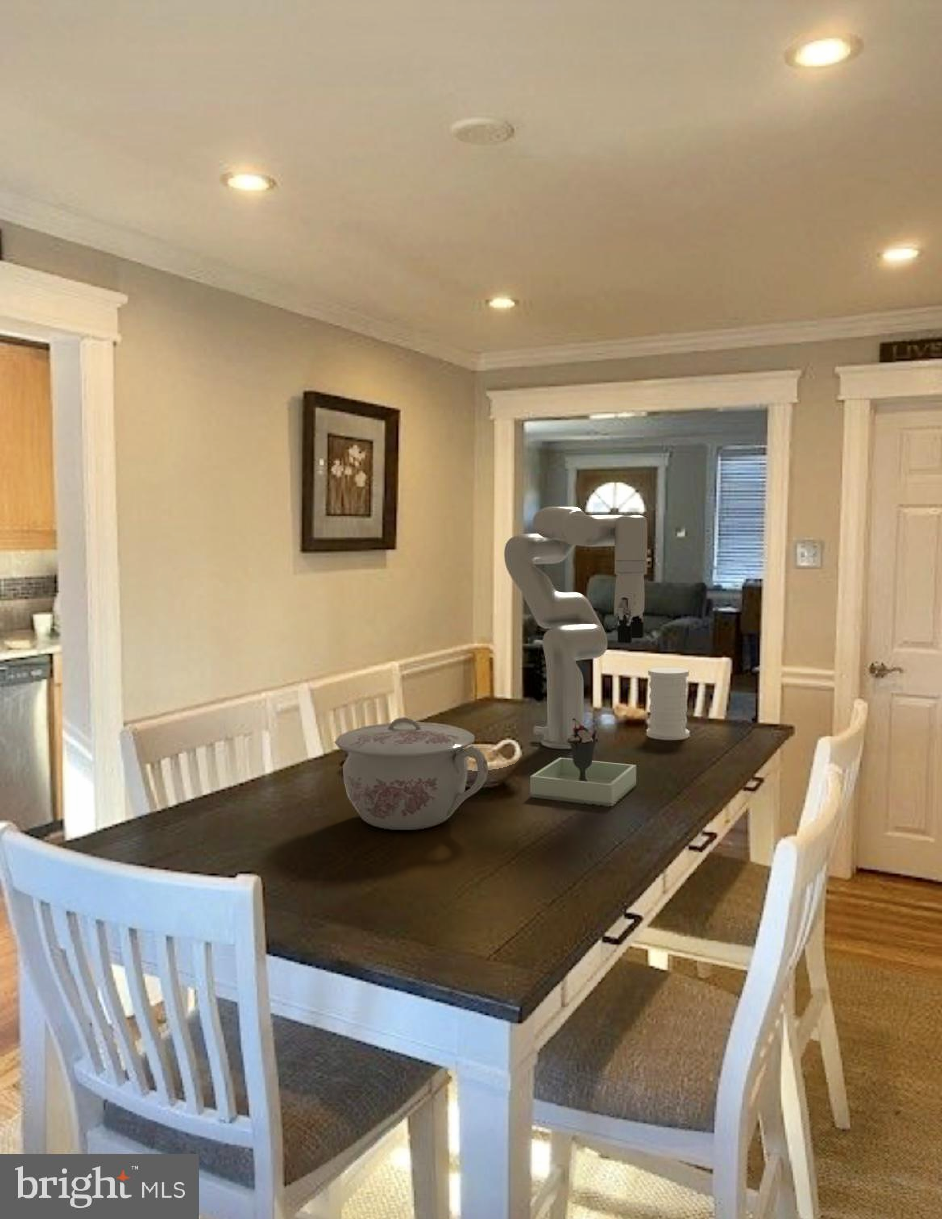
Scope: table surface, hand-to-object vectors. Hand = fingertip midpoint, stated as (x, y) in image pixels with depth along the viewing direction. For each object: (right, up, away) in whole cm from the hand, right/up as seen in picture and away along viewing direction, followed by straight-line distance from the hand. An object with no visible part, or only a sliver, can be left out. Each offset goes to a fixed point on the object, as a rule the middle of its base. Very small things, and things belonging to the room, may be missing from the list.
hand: (630, 640), depth 228 cm
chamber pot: (-50, -35, -38) cm, 72 cm away
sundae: (-13, -32, -17) cm, 38 cm away
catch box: (-13, -32, -18) cm, 39 cm away
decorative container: (+16, -27, +35) cm, 47 cm away
